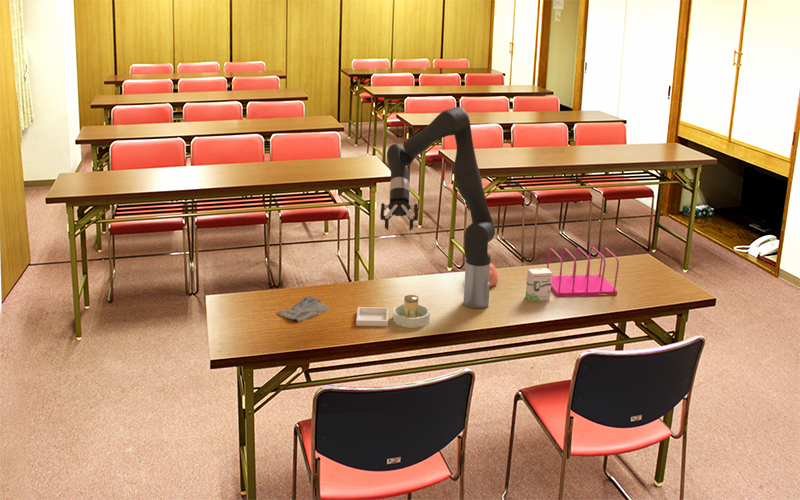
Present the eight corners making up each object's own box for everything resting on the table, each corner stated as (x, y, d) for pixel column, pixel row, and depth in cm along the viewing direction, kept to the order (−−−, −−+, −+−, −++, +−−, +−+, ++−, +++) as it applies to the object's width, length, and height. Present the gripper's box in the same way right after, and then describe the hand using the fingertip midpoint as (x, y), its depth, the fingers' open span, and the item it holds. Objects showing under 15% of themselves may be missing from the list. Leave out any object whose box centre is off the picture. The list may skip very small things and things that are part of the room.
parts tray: (388, 313, 264) (388, 307, 263) (387, 327, 254) (387, 320, 253) (358, 313, 264) (358, 307, 263) (356, 326, 254) (356, 320, 253)
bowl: (428, 313, 265) (429, 303, 264) (430, 329, 253) (430, 319, 252) (393, 312, 265) (393, 302, 264) (392, 328, 253) (393, 318, 251)
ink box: (529, 301, 277) (532, 273, 273) (524, 296, 281) (527, 269, 277) (550, 300, 279) (553, 272, 275) (545, 295, 283) (547, 267, 279)
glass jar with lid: (417, 316, 261) (418, 294, 258) (418, 322, 257) (418, 300, 254) (403, 316, 261) (404, 294, 258) (404, 322, 257) (404, 300, 254)
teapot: (476, 291, 285) (477, 269, 282) (461, 275, 302) (462, 254, 298) (504, 289, 288) (506, 267, 285) (487, 272, 305) (489, 251, 301)
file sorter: (543, 280, 298) (546, 244, 293) (600, 278, 301) (605, 243, 296) (556, 297, 282) (560, 260, 277) (617, 295, 285) (622, 258, 280)
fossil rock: (296, 325, 255) (295, 319, 254) (271, 312, 265) (271, 306, 264) (334, 310, 267) (333, 305, 266) (309, 298, 277) (309, 293, 276)
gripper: (380, 186, 270) (379, 224, 263) (418, 187, 270) (418, 225, 263) (381, 196, 277) (380, 233, 270) (417, 196, 277) (417, 234, 270)
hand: (399, 229), depth 267 cm, fingers open, 8 cm apart
